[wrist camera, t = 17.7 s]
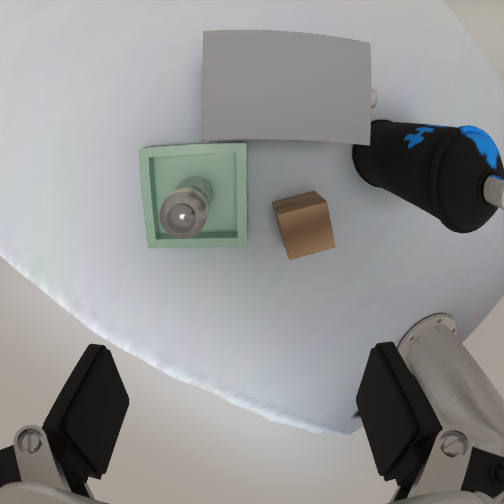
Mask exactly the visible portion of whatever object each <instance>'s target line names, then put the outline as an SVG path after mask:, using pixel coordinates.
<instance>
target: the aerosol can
mask: <svg viewBox="0 0 504 504" xmlns="http://www.w3.org/2000/svg"><path fill="white" fill-rule="evenodd" d="M353 161H354V165H355V167H356V170H357V171H358V173H359V175H360V176H361V177H362V178H363V179H364V180H365V181H366V182H367V183H369V184H370V185H373V186H375V187H380V188H383V189H385V190H387V191H389V192H391V193H393V194H395V195H397V196H399V197H401V198H402V199H404V200H406V201H408V202H410V203H412V204H414V205H415V206H417V207H419V208H421V209H423V210H424V211H426V212H428V213H430V214H431V215H433V216H435V217H436V218H438V219H440V221H441V222H442V223H443V224H444V225H445V226H446V227H447V228H448V229H450V230H452V231H454V232H458V233H470V232H472V231H475V230H477V229H478V228H480V227H481V226H483V225H484V224H485V223H486V222H487V221H488V220H489V219H490V218H491V217H492V216H493V215H494V213H495V212H496V211H497V209H498V207H499V208H501V209H504V168H503V164H502V161H501V157H500V154H499V151H498V149H497V147H496V145H495V143H494V141H493V140H492V139H491V137H490V136H489V135H488V134H487V133H486V132H484V131H483V130H481V129H479V128H477V127H474V126H469V125H468V126H461V127H458V128H457V127H449V126H439V125H428V124H416V123H399V122H392V121H389V120H375V121H372V122H371V130H370V146H369V145H359V144H353Z"/></svg>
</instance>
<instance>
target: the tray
mask: <svg viewBox="0 0 504 504" xmlns="http://www.w3.org/2000/svg"><path fill="white" fill-rule="evenodd" d="M139 159H140V174H141V186H142V197H143V207H144V216H145V225H146V233H147V241H148V248H181V247H240V246H247V143H246V142H217V143H194V144H177V145H164V146H152V147H144V148H141V149H139ZM192 176H197V177H201V178H203V179H205V180H206V181H208V183H209V184H210V185H211V187H212V190H213V198H212V201H211V205H210V208H209V213H208V218H207V221H206V223H205V225H204V227H203V229H202V230H201V231H200V232H199V233H198V234H197V235H196V236H194V237H192V238H188V239H179V238H175V237H173V236H171V235H169V234H168V233H167V232H166V231H165V230H164V229H163V227H162V225H161V223H160V218H159V213H160V208H161V206H162V204H163V202H164V200H165V199H166V198H167V196H168V195H169V194H170V193H171V192H173V191H174V190H175V189H176V188H177V186H178V185H179V184H180V183H181V182H182V181H183V180H184V179H186V178H188V177H192Z"/></svg>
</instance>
